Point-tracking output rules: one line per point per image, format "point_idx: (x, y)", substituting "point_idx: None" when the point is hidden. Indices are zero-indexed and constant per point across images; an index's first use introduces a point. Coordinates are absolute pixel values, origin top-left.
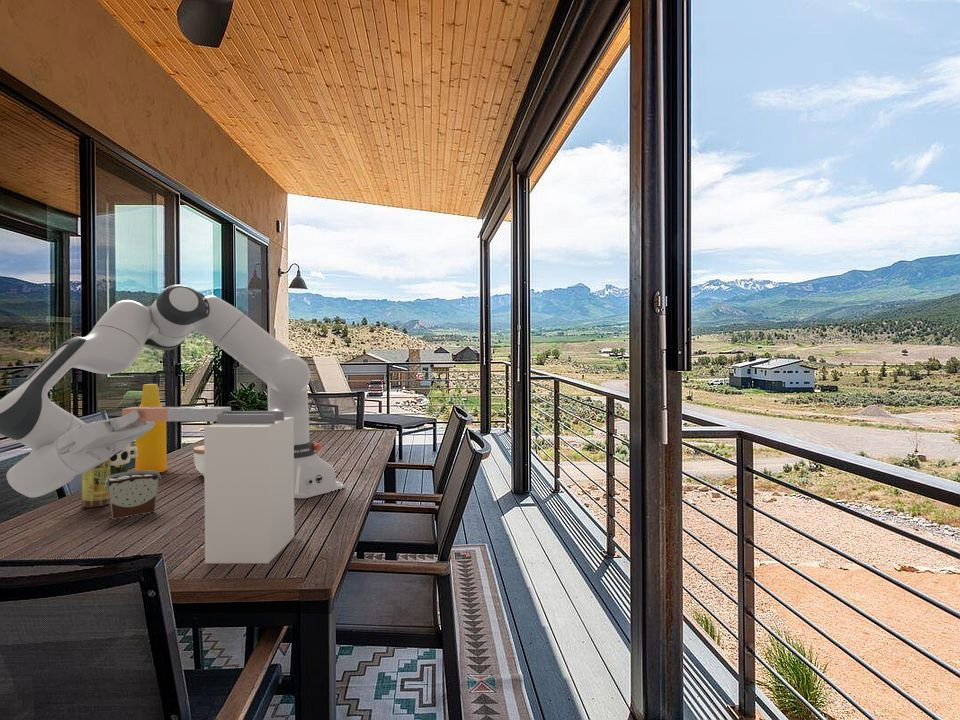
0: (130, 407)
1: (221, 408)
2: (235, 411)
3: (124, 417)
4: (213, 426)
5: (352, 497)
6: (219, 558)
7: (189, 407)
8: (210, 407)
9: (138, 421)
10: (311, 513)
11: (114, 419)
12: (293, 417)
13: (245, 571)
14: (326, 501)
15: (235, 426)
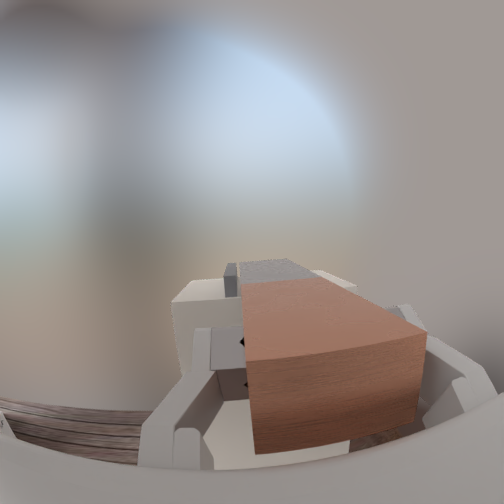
0: (313, 351)
1: (280, 259)
2: (235, 273)
3: (442, 352)
4: (347, 283)
5: (45, 413)
6: None
7: (263, 273)
8: (258, 265)
9: (211, 466)
10: (100, 446)
11: (486, 373)
12: (192, 280)
13: (351, 441)
14: (47, 432)
15: (333, 277)
